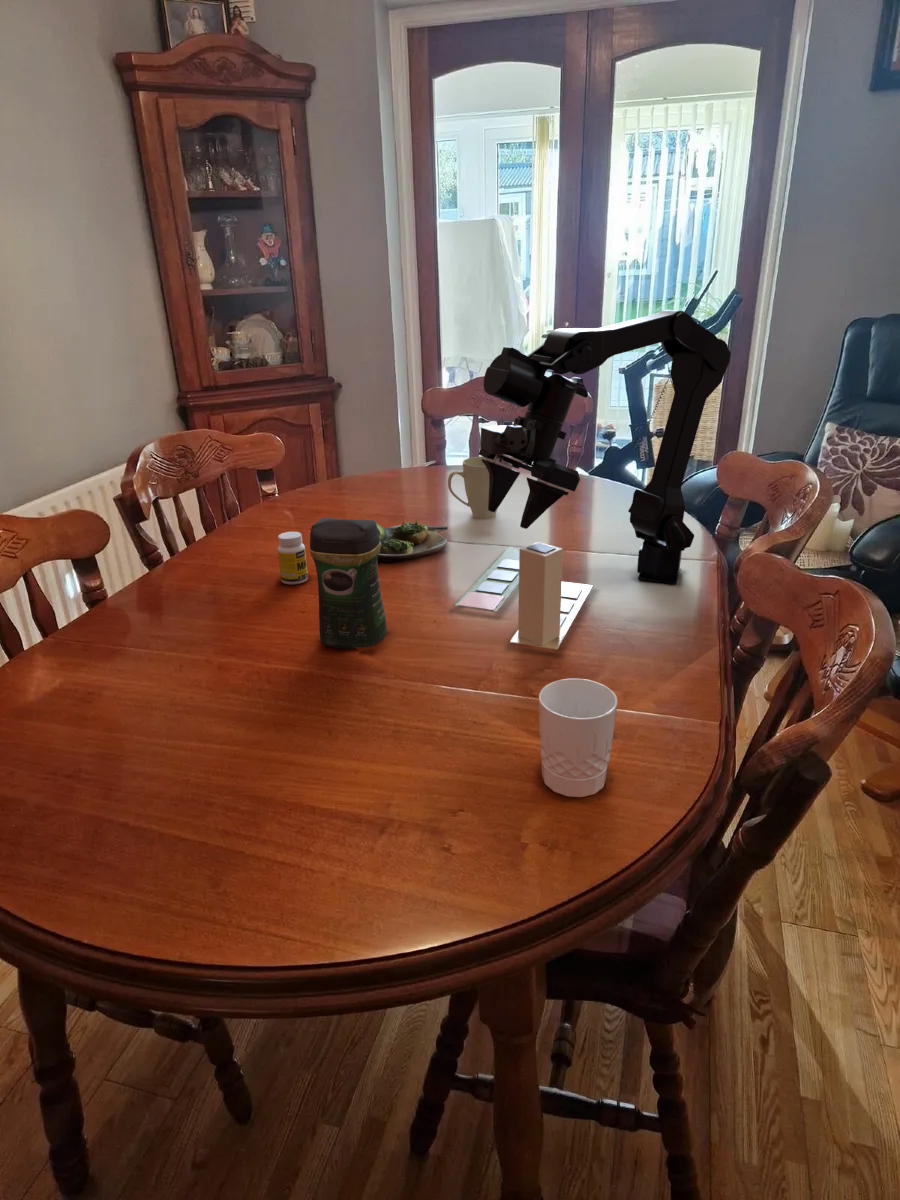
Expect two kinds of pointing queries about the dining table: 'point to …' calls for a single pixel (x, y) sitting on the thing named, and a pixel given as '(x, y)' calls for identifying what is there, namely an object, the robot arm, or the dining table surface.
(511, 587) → the strip
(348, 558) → the coffee jar
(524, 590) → the cream tall square block
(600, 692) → the white cup
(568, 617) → the strip
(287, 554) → the supplement bottle
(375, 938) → the dining table surface
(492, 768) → the dining table surface
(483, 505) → the mug
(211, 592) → the dining table surface
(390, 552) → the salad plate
